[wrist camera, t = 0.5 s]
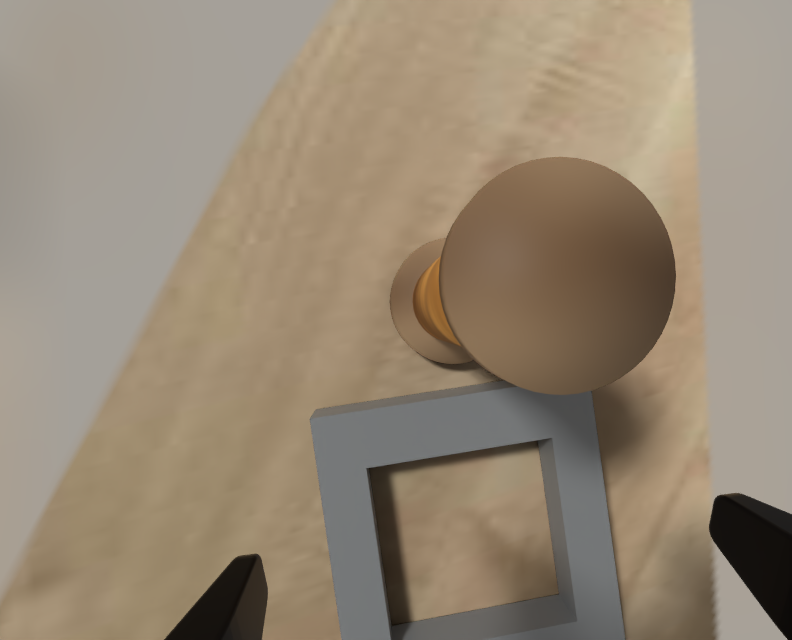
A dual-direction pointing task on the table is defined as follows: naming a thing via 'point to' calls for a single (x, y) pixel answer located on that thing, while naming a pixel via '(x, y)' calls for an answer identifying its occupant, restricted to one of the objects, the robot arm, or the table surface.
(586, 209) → the cable reel
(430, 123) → the table surface
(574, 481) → the gray square washer
